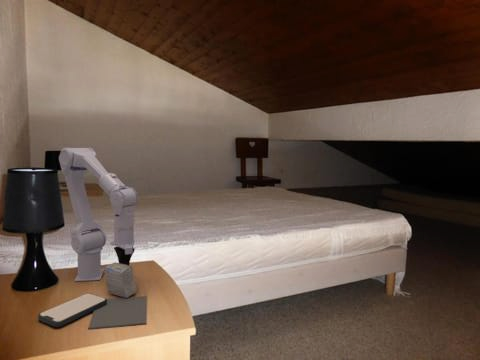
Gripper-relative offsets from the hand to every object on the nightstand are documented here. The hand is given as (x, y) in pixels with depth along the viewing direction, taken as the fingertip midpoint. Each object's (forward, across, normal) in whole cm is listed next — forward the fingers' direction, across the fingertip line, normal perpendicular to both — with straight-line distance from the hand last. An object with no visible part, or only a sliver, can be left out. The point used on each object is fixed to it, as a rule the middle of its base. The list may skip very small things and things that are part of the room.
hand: (124, 269), depth 112 cm
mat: (+6, +14, -4) cm, 16 cm away
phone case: (+6, +10, -15) cm, 19 cm away
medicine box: (+6, +4, -1) cm, 7 cm away
